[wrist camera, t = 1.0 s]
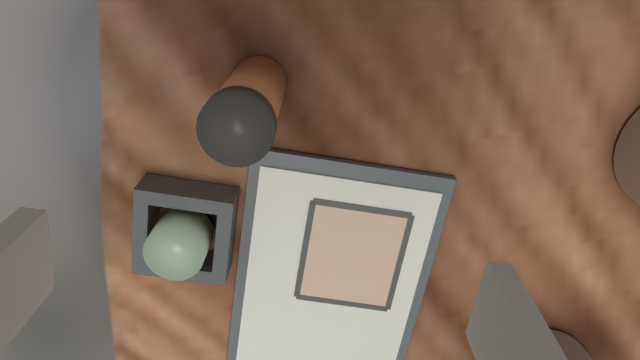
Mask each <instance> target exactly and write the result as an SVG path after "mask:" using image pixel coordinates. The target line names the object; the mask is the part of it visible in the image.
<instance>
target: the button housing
mask: <svg viewBox="0 0 640 360" xmlns="http://www.w3.org/2000/svg"><path fill="white" fill-rule="evenodd" d="M239 189H240V187H235V186H229V185H222V184H215V183H209V182H202V181H195V180H189V179H182V178H175V177H169V176H162V175H155V174H149V173H146V174H145V176H144V177H143V178H142V179H141V181H140V182H139V183H138V184H137V185H136V187H135V188H134V189H133V230H132V273H134V274H141V275H148V276H155V277H160V276H158V275H156V274H155V273H154V272H153V271H151V270H150V268H149V267H148V266H147V264H146V263H145V260H144V258H143V246H144V243H145V241H146V239H147V238H148V236H149V234H150V233H151V231H152V230H153V228H154V226H155V225H156V223H157V221H158V220H159V207H165V208H172V209H179V210H186V211H193V212H200V213H206V214H213V215H217V224H216V235H215V246H214V251H208V252H207V255H206V257H205V260H204V262H203V265H202V267H201V269H200V270H199V272H198V273H197V274H195V275H194V276H193V277H191V278H188V279H185V280H184V281H191V282H198V283H206V284H213V285H220V286H225V284H226V280H227V277H228V274H229V270H230V267H231V261H232V252H233V243H234V234H235V225H236V216H237V207H238V198H239Z"/></svg>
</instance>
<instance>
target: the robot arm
mask: <svg viewBox="0 0 640 360" xmlns="http://www.w3.org/2000/svg"><path fill="white" fill-rule="evenodd" d="M53 289H54V278H53V268H52V258H51V248H50V236H49V226H48V215H47V210H43V209H34V208H25V207H20V208H18V209H17V210H16V211H15V212H14V213H13V214H11V215H10V216H9V217H8V218H7V219H6V220H4V221H3V222H2V223H1V224H0V355H1V354H2V352H3V351H4V350H5V349H6V347H7V346H8V345H9V344H10V342H11V341H12V340H13V339H14V337H15V336H16V335H17V334H18V332H19V331H20V330H21V329H22V327H23V326H24V325H25V324H26V323H27V321H28V320H29V319H30V318H31V316H32V315H33V314H34V313H35V311H36V310H37V309H38V308H39V306H40V305H41V304H42V303H43V301H44V300H45V299H46V297H47V296H48V295H49V294H50V293H51V291H52V290H53ZM466 336H467V339H468V342H469V344H470V347H471V350H472V353H473V355H474V358H475V360H568V359H567V357H566V356H565V354H564V352H563V350H562V349H561V347H560V345H559V344H558V342H557V340H556V338H555V337H554V335H553V333H552V332H551V330H550V328H549V326H548V325H547V323H546V321H545V320H544V318H543V316H542V315H541V313H540V311H539V309H538V308H537V306H536V304H535V303H534V301H533V299H532V297H531V296H530V294H529V292H528V291H527V289H526V287H525V285H524V284H523V282H522V280H521V279H520V277H519V275H518V273H517V272H516V270H515V268H514V267H513V265H512V264H508V263H500V262H491V261H487V263H486V267H485V270H484V273H483V276H482V280H481V283H480V286H479V290H478V293H477V296H476V300H475V303H474V306H473V310H472V313H471V316H470V320H469V323H468V326H467V330H466Z"/></svg>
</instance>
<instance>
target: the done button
mask: <svg viewBox="0 0 640 360" xmlns="http://www.w3.org/2000/svg"><path fill="white" fill-rule="evenodd" d="M213 235H214V230H213V226H212V223H211V221H210V219H209V218H208V217H207V216H206V215H205V214H204V213H200V212H193V211H186V210H179V209H172V208H169V209H168V210H166V211H165V212H164V213H163V214H162V215H161V217H160V218H159V220H158V221H157V223H156V225H155V226H154V228H153V230H152V231H151V233H150V234H149V236H148V238H147V239H146V241H145V243H144V246H143V258H144V260H145V263H146V264H147V266H148V267H149V268H150V270H151V271H153V272H154V273H155V274H156V275H158V276H160V277H162V278H164V279H168V280H174V281H180V280H185V279H188V278H191V277H193V276H194V275H195V274H197V273H198V272H199V270H200V269H201V267H202V265H203V262H204V260H205V257H206V255H207V252H208V250H209V247H210V244H211V242H212V239H213Z"/></svg>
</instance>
